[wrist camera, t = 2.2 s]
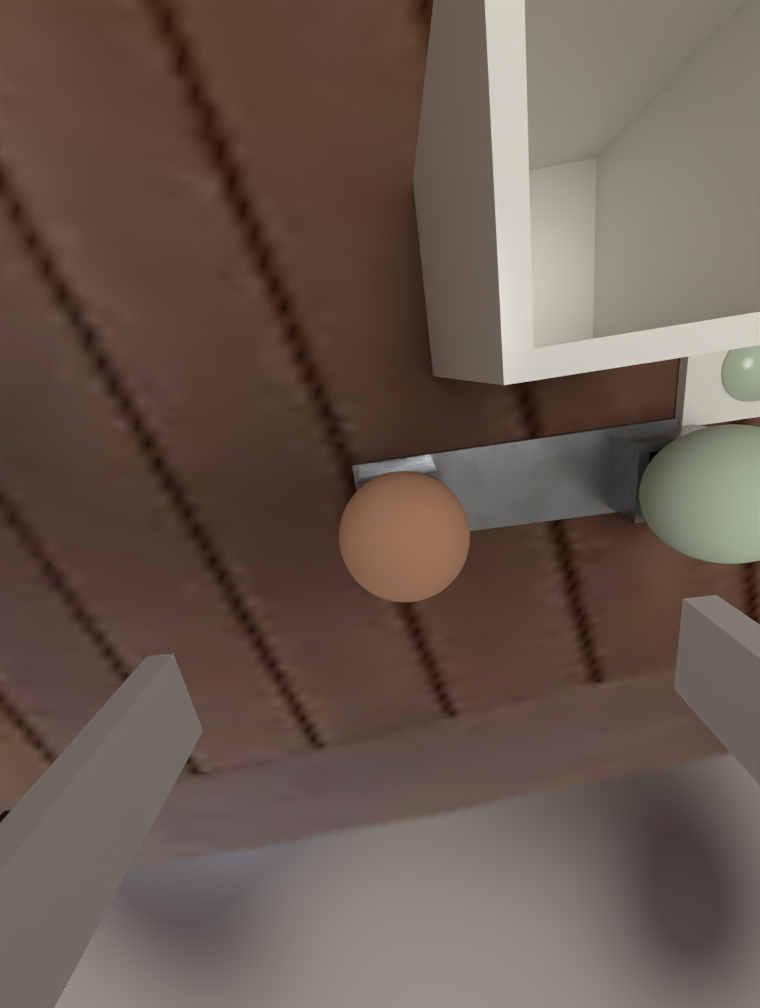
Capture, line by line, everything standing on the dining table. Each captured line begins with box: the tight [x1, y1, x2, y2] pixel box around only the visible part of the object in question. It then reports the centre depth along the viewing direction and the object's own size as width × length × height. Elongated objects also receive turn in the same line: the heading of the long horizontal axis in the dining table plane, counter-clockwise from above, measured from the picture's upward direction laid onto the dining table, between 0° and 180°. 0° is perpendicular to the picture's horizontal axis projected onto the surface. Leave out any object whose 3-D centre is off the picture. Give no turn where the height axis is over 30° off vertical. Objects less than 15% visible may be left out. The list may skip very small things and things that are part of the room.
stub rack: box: [352, 417, 707, 531], centre depth 21 cm, size 5×19×3 cm, turn 99°
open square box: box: [413, 0, 760, 385], centre depth 13 cm, size 9×9×14 cm
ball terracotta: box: [339, 471, 470, 602], centre depth 18 cm, size 6×6×6 cm
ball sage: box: [639, 424, 760, 564], centre depth 17 cm, size 6×6×6 cm
